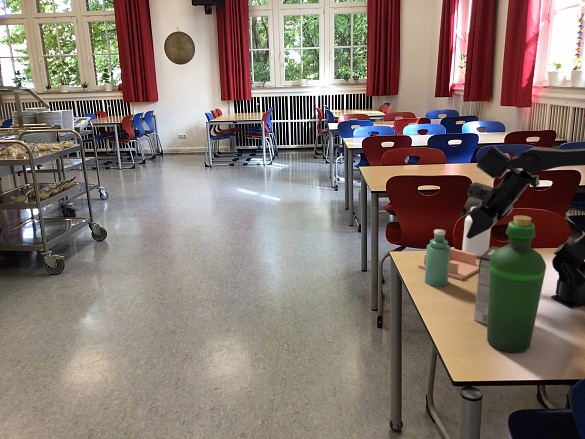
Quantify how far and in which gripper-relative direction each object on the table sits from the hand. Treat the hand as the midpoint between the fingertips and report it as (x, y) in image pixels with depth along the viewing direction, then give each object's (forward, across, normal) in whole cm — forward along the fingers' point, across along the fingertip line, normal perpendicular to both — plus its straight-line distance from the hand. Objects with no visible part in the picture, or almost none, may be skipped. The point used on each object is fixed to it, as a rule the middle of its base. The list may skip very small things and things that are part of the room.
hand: (473, 233), depth 135 cm
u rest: (+15, -5, +1) cm, 16 cm away
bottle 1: (+15, +8, +1) cm, 17 cm away
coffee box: (+5, +20, +18) cm, 27 cm away
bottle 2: (+2, +31, +23) cm, 38 cm away
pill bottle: (+15, -22, +2) cm, 26 cm away
